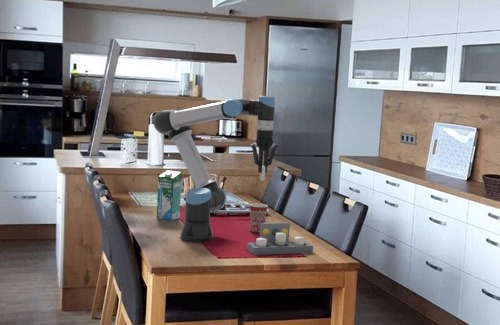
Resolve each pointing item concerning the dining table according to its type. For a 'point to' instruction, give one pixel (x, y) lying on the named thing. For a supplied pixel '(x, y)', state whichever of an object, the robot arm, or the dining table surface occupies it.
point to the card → (274, 230)
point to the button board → (280, 248)
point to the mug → (257, 216)
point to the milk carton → (169, 195)
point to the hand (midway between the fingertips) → (262, 179)
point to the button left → (261, 242)
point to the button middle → (280, 239)
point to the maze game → (235, 209)
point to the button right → (298, 241)
